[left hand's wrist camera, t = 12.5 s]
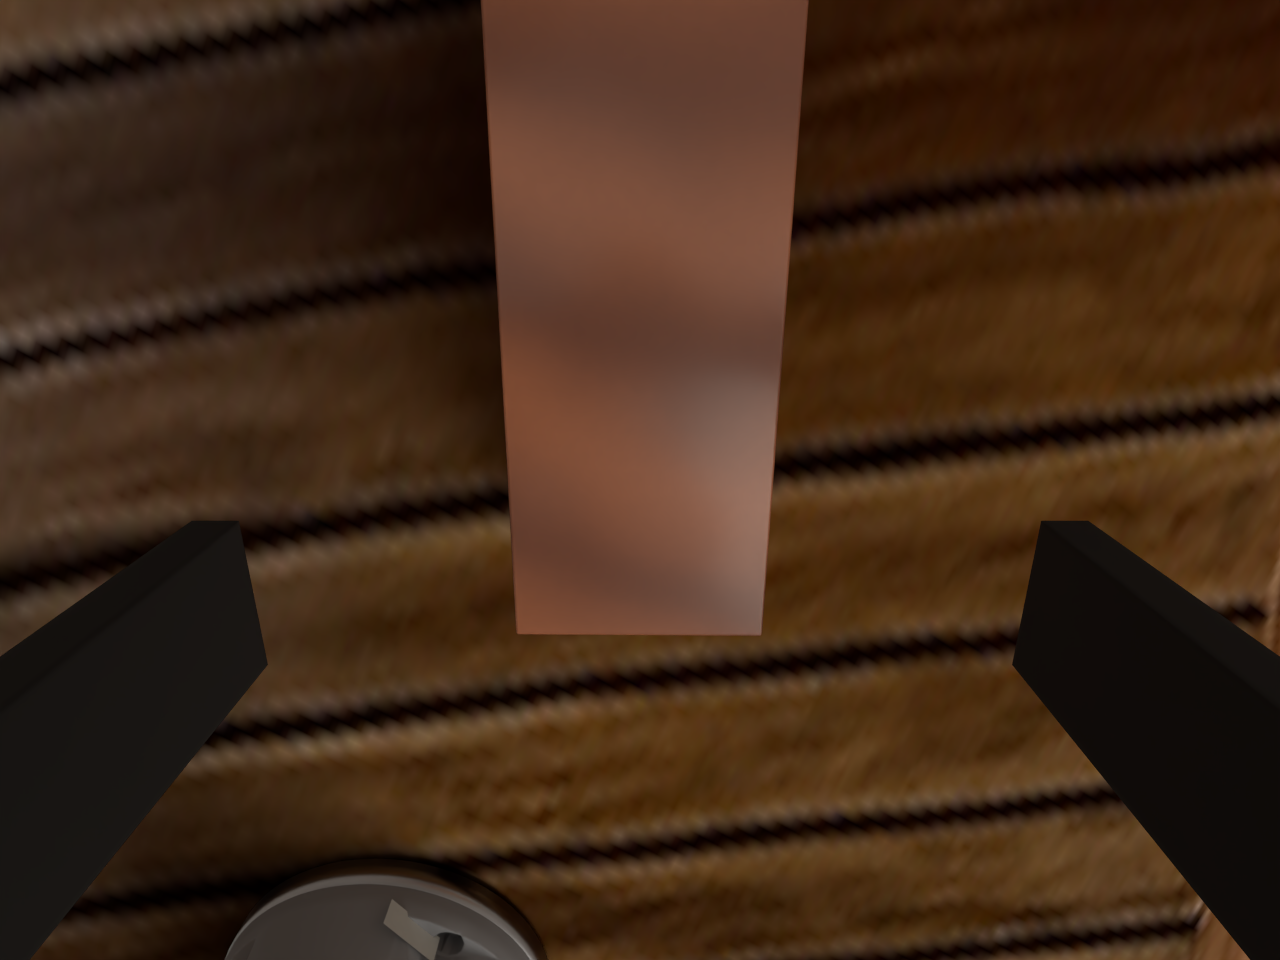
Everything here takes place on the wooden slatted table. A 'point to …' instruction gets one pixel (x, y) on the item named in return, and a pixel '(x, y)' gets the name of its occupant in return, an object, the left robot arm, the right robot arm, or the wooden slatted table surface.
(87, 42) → the wooden slatted table surface
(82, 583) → the wooden slatted table surface
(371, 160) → the wooden slatted table surface
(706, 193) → the cabinet
